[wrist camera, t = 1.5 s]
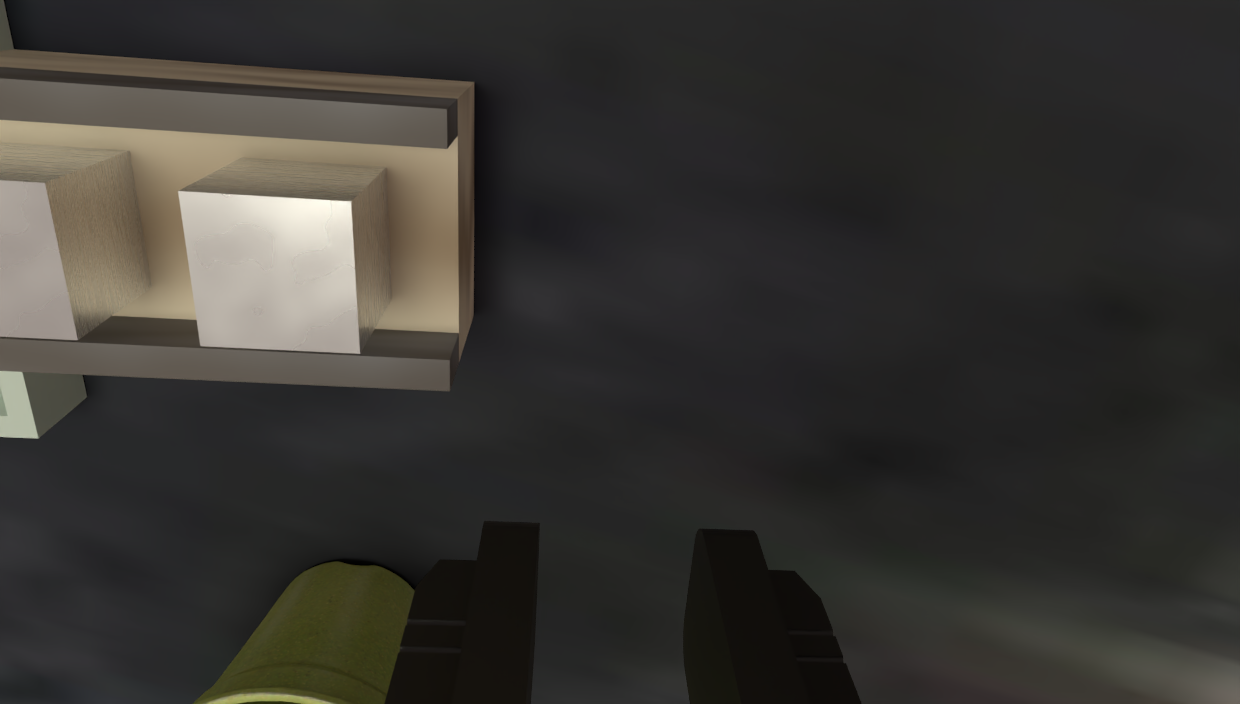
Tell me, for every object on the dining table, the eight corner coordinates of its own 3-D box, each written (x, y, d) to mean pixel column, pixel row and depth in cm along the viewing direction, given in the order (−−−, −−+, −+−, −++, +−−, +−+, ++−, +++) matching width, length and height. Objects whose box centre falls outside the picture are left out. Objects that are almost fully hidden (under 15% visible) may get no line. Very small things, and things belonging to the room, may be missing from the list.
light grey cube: (240, 157, 23) (178, 191, 20) (386, 166, 24) (350, 201, 20) (256, 292, 25) (200, 346, 21) (391, 299, 25) (359, 353, 21)
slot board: (13, 49, 25) (-141, 68, 20) (474, 82, 26) (446, 109, 21) (65, 294, 29) (-56, 368, 23) (473, 315, 30) (450, 391, 24)
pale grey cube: (-23, 141, 23) (-137, 171, 19) (129, 150, 23) (44, 182, 19) (10, 278, 24) (-90, 332, 21) (152, 286, 25) (77, 340, 21)
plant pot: (355, 730, 38) (295, 929, 30) (190, 605, 35) (75, 792, 27) (511, 626, 36) (492, 811, 28) (352, 483, 32) (278, 646, 25)
